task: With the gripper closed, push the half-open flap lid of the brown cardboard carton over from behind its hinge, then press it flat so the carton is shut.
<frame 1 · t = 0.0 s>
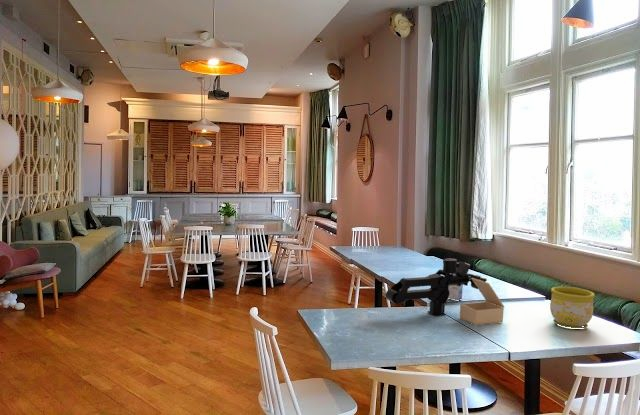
hand: (480, 277, 251), 17 cm above the table, tool horizontal, fingers open, 9 cm apart
carton lid: (487, 292, 235), point 13 cm above the table, hinge at 50.0°
flowerpot: (570, 326, 230), on the table
carton: (480, 320, 234), on the table
ink cartridge box: (451, 300, 270), on the table
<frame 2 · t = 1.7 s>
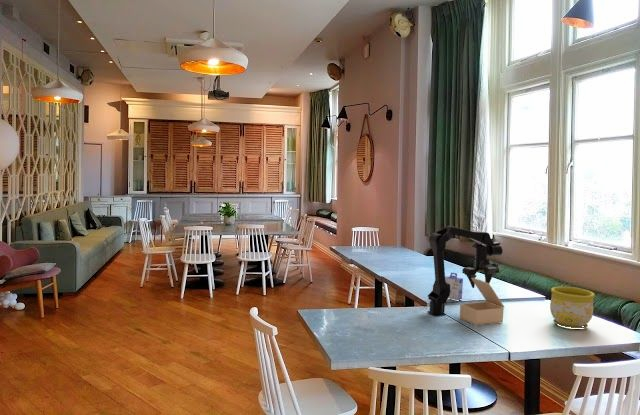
hand: (480, 287, 249), 12 cm above the table, tool pointing down, fingers open, 8 cm apart
nothing on the table moved.
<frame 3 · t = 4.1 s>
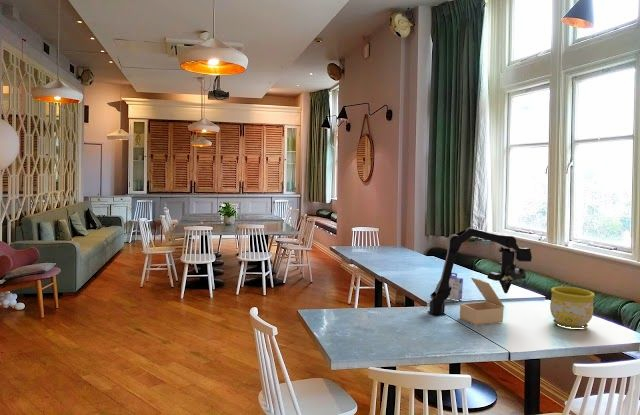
hand: (505, 293, 239), 12 cm above the table, tool pointing down, fingers closed
nothing on the table moved.
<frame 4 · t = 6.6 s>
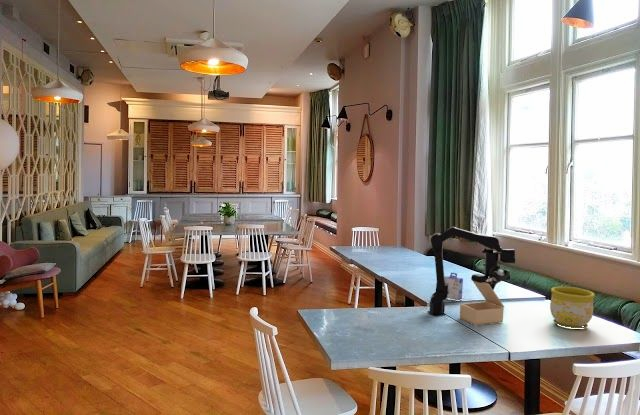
hand: (490, 294, 235), 12 cm above the table, tool pointing down, fingers closed, pressing on carton lid
carton lid: (487, 292, 234), point 13 cm above the table, hinge at 49.4°, touching gripper
everything else where it was.
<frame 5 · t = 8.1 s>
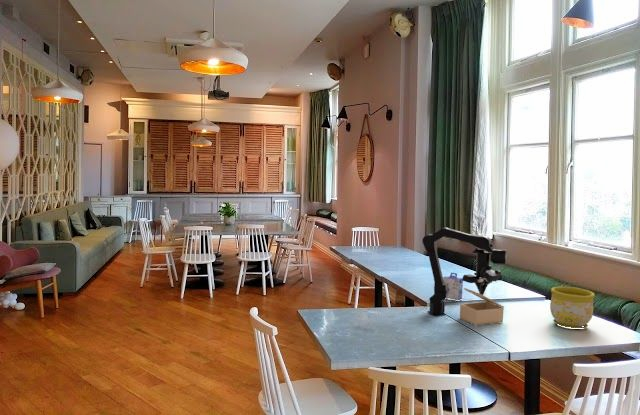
hand: (481, 295, 233), 12 cm above the table, tool pointing down, fingers closed
carton lid: (483, 297, 234), point 11 cm above the table, hinge at 26.5°, touching gripper
everything else where it was.
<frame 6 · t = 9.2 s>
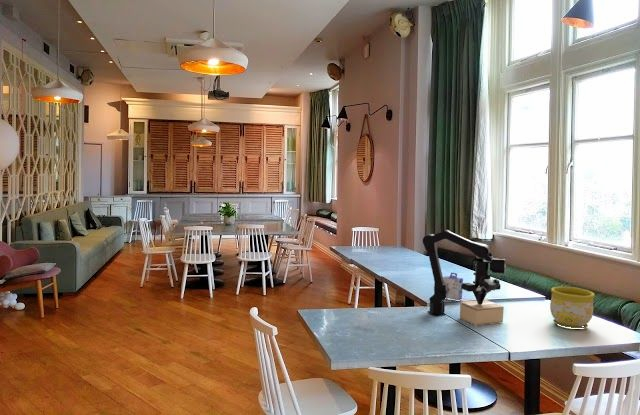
hand: (479, 304, 233), 8 cm above the table, tool pointing down, fingers closed, pressing on carton lid
carton lid: (481, 304, 234), point 8 cm above the table, hinge at 1.4°, touching gripper
everything else where it was.
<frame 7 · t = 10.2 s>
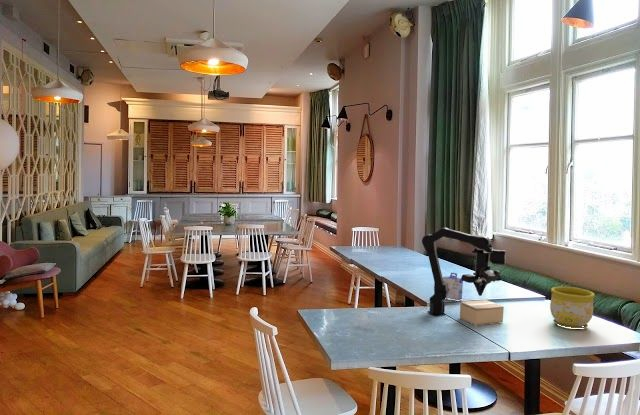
hand: (480, 295, 233), 12 cm above the table, tool pointing down, fingers closed
carton lid: (481, 304, 234), point 8 cm above the table, hinge at 1.3°
everything else where it was.
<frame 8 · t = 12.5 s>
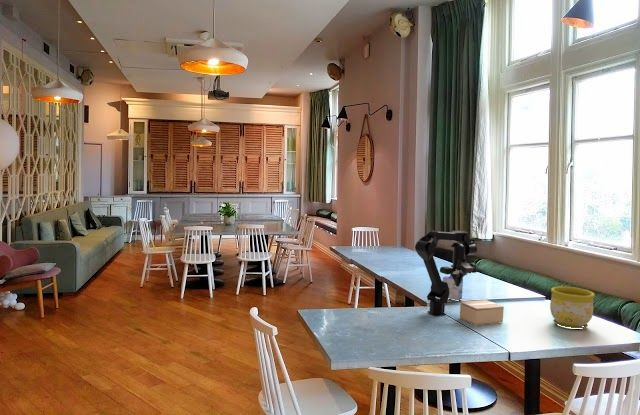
hand: (457, 286, 250), 12 cm above the table, tool pointing down, fingers closed
nothing on the table moved.
at the end: carton lid at +1° (first picture: +50°) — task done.
